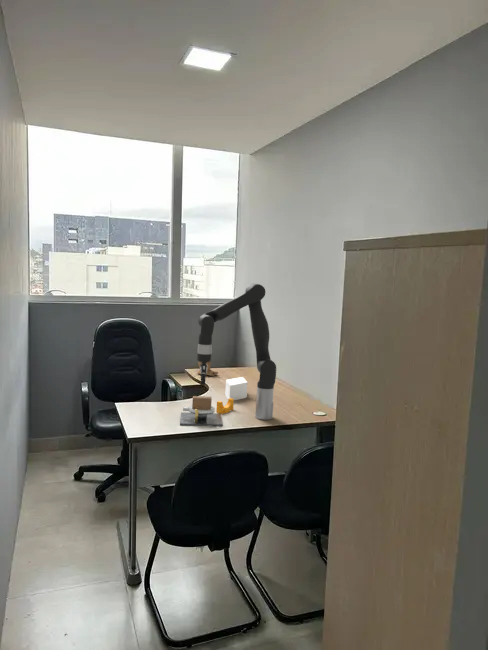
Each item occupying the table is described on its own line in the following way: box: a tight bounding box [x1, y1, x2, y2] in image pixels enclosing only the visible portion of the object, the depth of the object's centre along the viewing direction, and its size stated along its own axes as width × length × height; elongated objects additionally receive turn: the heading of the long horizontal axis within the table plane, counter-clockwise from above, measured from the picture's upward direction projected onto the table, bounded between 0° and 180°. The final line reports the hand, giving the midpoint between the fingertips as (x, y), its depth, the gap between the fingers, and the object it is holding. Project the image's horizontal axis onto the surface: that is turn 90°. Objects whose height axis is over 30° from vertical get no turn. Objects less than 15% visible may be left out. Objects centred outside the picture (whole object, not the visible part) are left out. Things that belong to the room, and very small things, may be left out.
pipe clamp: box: [215, 398, 235, 415], centre depth 285 cm, size 12×4×6 cm, turn 142°
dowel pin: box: [195, 409, 198, 423], centre depth 257 cm, size 2×2×7 cm
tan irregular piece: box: [196, 361, 219, 377], centre depth 381 cm, size 15×12×15 cm
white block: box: [224, 376, 248, 401], centre depth 321 cm, size 14×29×10 cm, turn 165°
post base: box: [179, 411, 224, 427], centre depth 265 cm, size 22×20×5 cm
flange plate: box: [182, 395, 216, 415], centre depth 265 cm, size 17×14×8 cm
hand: (202, 382), depth 263 cm, fingers open, 8 cm apart
